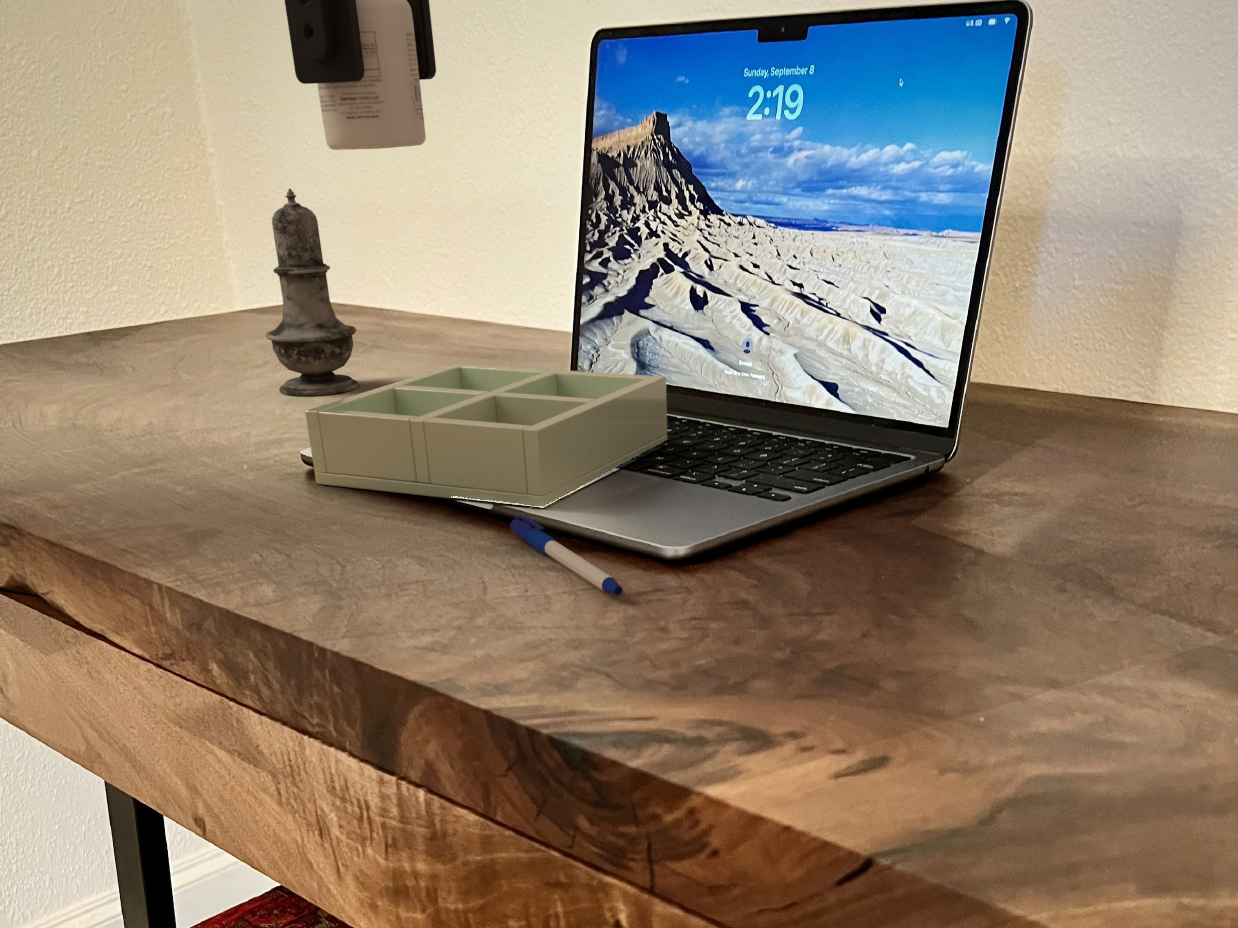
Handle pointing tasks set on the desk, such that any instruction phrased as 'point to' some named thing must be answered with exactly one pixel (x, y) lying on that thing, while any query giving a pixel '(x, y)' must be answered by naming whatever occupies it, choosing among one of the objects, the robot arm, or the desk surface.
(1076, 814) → the desk surface
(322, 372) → the salt shaker
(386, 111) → the pill bottle
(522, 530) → the ballpoint pen
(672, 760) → the desk surface
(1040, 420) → the desk surface
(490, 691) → the desk surface
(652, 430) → the tray
